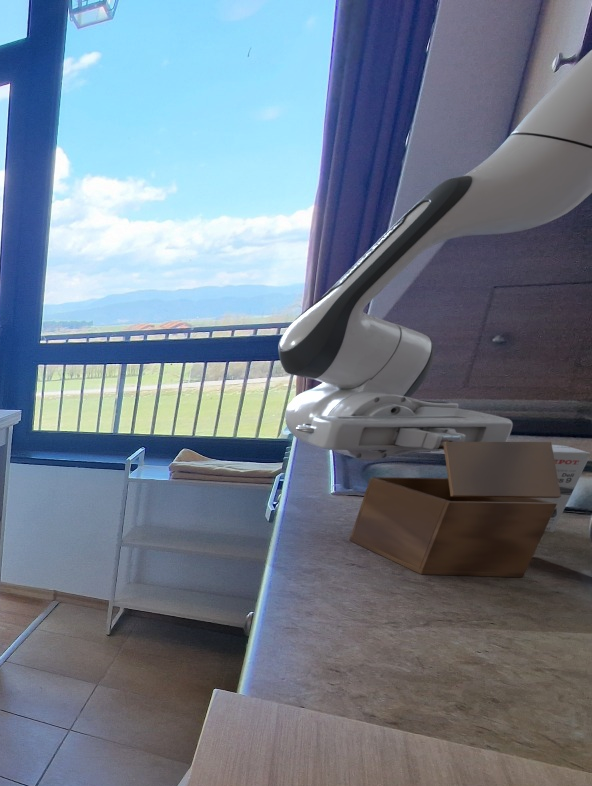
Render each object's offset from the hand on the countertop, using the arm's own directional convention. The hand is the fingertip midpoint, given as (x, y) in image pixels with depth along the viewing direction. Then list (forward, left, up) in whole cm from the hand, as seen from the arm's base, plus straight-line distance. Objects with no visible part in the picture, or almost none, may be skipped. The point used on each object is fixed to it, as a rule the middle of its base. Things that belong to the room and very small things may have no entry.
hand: (450, 442), depth 75 cm
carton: (0, +3, -13) cm, 14 cm away
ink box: (-14, -7, -14) cm, 21 cm away
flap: (0, +8, -2) cm, 8 cm away
